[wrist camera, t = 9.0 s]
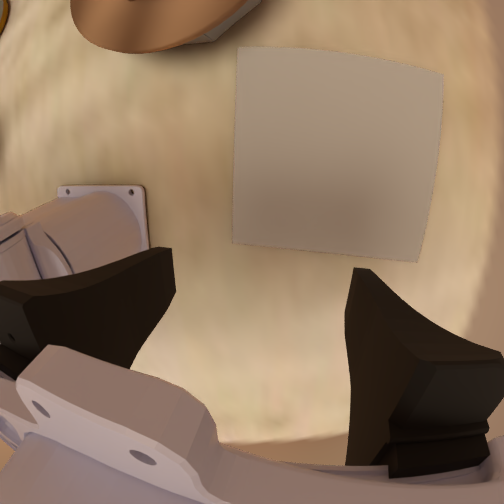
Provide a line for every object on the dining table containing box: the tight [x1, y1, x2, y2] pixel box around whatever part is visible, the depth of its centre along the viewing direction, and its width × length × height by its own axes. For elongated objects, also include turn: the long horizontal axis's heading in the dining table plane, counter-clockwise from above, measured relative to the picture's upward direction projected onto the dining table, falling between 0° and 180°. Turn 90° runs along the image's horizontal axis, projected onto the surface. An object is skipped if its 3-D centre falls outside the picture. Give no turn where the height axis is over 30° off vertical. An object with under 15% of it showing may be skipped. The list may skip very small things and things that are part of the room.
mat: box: [232, 47, 444, 263], centre depth 19 cm, size 14×14×1 cm
